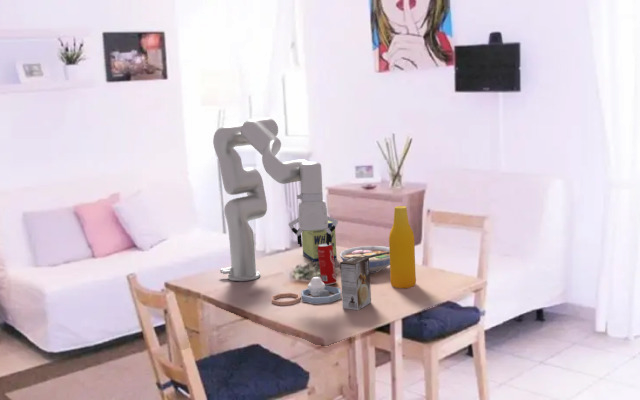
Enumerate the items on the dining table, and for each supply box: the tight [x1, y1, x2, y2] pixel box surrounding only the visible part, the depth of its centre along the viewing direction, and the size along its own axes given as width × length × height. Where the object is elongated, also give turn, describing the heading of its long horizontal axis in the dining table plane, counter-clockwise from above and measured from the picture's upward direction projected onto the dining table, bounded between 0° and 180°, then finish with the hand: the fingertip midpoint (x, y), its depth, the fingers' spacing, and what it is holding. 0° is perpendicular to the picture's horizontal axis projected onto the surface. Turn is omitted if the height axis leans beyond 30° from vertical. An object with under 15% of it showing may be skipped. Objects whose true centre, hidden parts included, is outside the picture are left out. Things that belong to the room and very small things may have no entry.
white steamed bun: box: [307, 276, 326, 297], centre depth 277 cm, size 6×6×7 cm
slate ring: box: [300, 285, 342, 305], centre depth 275 cm, size 14×14×2 cm
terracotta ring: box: [270, 292, 301, 306], centre depth 274 cm, size 10×10×1 cm
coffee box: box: [339, 256, 372, 311], centre depth 263 cm, size 9×6×16 cm
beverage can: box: [318, 243, 337, 286], centre depth 291 cm, size 6×6×15 cm
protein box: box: [301, 221, 338, 263], centre depth 331 cm, size 10×16×16 cm
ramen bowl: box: [339, 245, 390, 274], centre depth 305 cm, size 25×23×8 cm
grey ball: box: [319, 290, 330, 297], centre depth 272 cm, size 4×4×4 cm
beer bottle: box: [388, 205, 417, 289], centre depth 282 cm, size 9×9×29 cm
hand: (314, 245), depth 275 cm, fingers open, 9 cm apart
